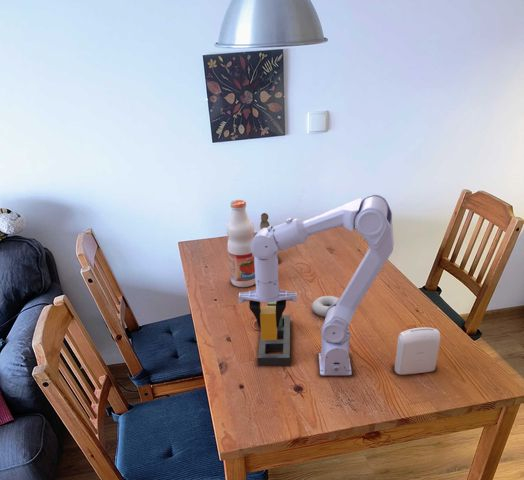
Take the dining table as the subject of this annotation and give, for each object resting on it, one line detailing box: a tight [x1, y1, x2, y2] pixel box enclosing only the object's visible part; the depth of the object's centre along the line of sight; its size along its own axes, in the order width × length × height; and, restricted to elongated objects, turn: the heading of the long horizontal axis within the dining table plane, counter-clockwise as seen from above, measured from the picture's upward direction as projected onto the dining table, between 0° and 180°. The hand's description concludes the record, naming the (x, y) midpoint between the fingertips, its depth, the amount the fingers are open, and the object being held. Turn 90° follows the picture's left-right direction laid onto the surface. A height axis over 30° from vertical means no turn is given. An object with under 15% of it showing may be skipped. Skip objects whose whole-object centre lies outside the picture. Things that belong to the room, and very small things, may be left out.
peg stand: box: [257, 314, 291, 366], centre depth 136 cm, size 22×8×2 cm, turn 177°
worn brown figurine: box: [259, 212, 280, 264], centre depth 180 cm, size 12×6×18 cm, turn 11°
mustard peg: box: [260, 305, 278, 340], centre depth 125 cm, size 4×4×8 cm
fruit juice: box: [225, 199, 256, 288], centre depth 160 cm, size 9×9×28 cm
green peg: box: [267, 301, 284, 327], centre depth 139 cm, size 4×4×10 cm
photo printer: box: [394, 326, 441, 376], centre depth 120 cm, size 10×4×12 cm, turn 96°
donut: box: [312, 295, 339, 318], centre depth 148 cm, size 10×4×10 cm
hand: (269, 325), depth 126 cm, fingers closed on mustard peg, 4 cm apart
